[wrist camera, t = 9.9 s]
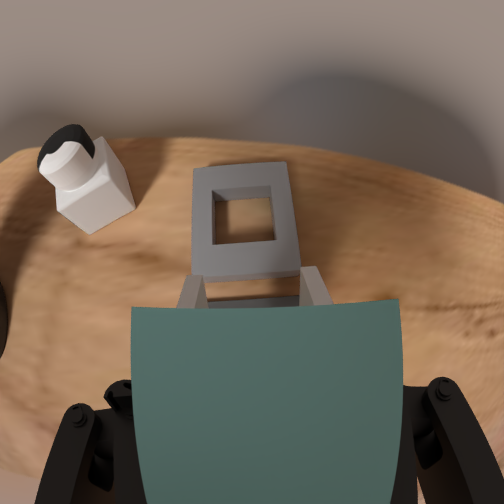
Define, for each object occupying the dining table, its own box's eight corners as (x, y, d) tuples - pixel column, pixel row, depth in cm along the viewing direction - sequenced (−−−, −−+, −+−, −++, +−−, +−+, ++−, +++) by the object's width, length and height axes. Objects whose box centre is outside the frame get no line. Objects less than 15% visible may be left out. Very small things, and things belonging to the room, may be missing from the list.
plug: (221, 396, 17) (153, 527, 3) (220, 335, 18) (131, 306, 4) (285, 394, 17) (388, 511, 3) (283, 333, 18) (398, 298, 4)
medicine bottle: (81, 193, 31) (31, 141, 19) (125, 168, 32) (84, 105, 20) (89, 236, 29) (28, 189, 17) (137, 209, 30) (88, 147, 18)
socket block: (197, 283, 27) (191, 277, 24) (197, 180, 31) (193, 168, 28) (297, 276, 27) (301, 269, 24) (284, 174, 31) (285, 161, 28)
